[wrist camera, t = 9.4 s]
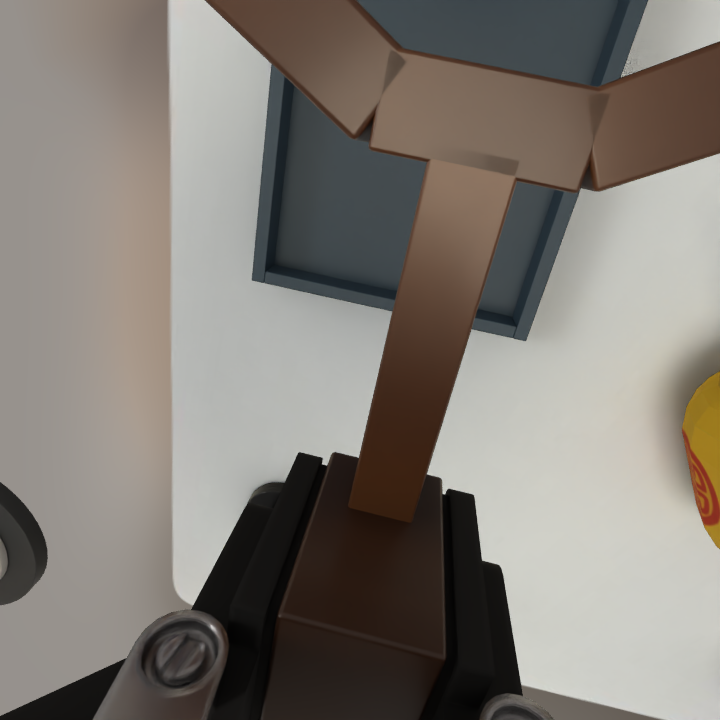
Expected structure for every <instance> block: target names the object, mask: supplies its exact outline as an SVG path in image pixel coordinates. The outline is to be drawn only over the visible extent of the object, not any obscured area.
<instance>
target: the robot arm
mask: <svg viewBox="0 0 720 720" xmlns="http://www.w3.org/2000/svg"><path fill="white" fill-rule="evenodd" d="M322 460H323V458H321V457H317V456H313V455H309V454H305V453H301V452H299V453H298V455H297V457H296V459H295V461H294V464H293V466H292V468H291V470H290V473H289V475H288V477H287V479H286V482H285V484H284V486H283V488H282V491H281V493H280V495H279V497H278V500H277V502H276V504H275V506H274V508H270V507H266V506H262V505H258V504H254V503H250V502H249V503H248V504H247V505H246V507H245V509H244V510H243V512H242V514H241V516H240V518H239V520H238V522H237V524H236V526H235V527H234V529H233V531H232V533H231V535H230V537H229V539H228V541H227V543H226V545H225V546H224V548H223V550H222V552H221V554H220V556H219V558H218V560H217V562H216V563H215V565H214V567H213V569H212V571H211V573H210V575H209V577H208V579H207V581H206V582H205V584H204V586H203V588H202V590H201V592H200V594H199V596H198V598H197V600H196V601H195V603H194V605H193V607H192V609H191V610H181V611H176V612H171V613H169V614H167V615H165V616H163V617H161V618H158V619H157V620H156V621H154V622H153V623H152V624H151V625H149V626H148V627H147V628H146V629H145V630H144V631H143V632H142V634H141V635H140V636H139V638H138V639H137V641H136V642H135V644H134V646H133V647H132V650H131V651H130V653H129V655H128V657H127V658H126V659H123V660H121V661H119V662H117V663H115V664H113V665H110V666H108V667H106V668H104V669H102V670H99V671H97V672H95V673H93V674H91V675H89V676H86V677H85V678H82V679H80V680H78V681H76V682H73V683H71V684H69V685H67V686H65V687H62V688H60V689H58V690H56V691H54V692H52V693H49V694H47V695H45V696H43V697H41V698H39V699H36V700H34V701H32V702H30V703H28V704H26V705H23V706H21V707H19V708H17V709H15V710H12V711H10V712H8V713H6V714H4V715H2V716H0V720H259V719H260V713H261V707H262V701H263V695H264V689H265V683H266V678H267V672H268V666H269V660H270V654H271V648H272V642H273V637H274V631H275V625H276V619H277V613H278V610H279V607H280V604H281V602H282V599H283V596H284V593H285V590H286V587H287V584H288V581H289V578H290V575H291V572H292V569H293V566H294V563H295V560H296V557H297V554H298V551H299V548H300V545H301V542H302V539H303V536H304V533H305V531H306V528H307V525H308V522H309V519H310V516H311V513H312V510H313V507H314V504H315V501H316V498H317V495H318V492H319V489H320V486H321V483H322V480H323V477H324V474H325V471H326V468H327V466H326V465H322ZM442 495H443V534H444V573H445V612H446V651H447V658H446V661H445V663H444V666H443V668H442V671H441V673H440V675H439V678H438V680H437V683H436V685H435V687H434V690H433V692H432V695H431V697H430V700H429V702H428V704H427V707H426V709H425V712H424V714H423V717H422V719H421V720H554V719H553V717H552V716H551V715H550V714H549V713H548V712H547V711H546V710H545V709H543V708H542V707H541V706H539V705H538V704H537V703H535V702H534V701H532V700H530V699H527V698H525V697H523V694H522V689H521V682H520V676H519V670H518V664H517V657H516V651H515V645H514V639H513V633H512V627H511V621H510V615H509V609H508V603H507V596H506V590H505V584H504V578H503V573H502V569H501V567H500V566H499V565H497V564H493V563H489V562H485V561H482V557H481V549H480V541H479V532H478V524H477V515H476V507H475V499H474V495H473V494H468V493H464V492H460V491H456V490H452V489H448V490H447V491H446V494H442ZM7 566H8V558H7V551H6V549H5V546H4V543H3V541H2V540H1V538H0V579H1V578H2V577H3V576H4V574H5V572H6V571H7Z"/></svg>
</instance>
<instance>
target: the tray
mask: <svg viewBox="0 0 720 720" xmlns="http://www.w3.org/2000/svg"><path fill="white" fill-rule="evenodd" d="M357 1H358V2H359V3H360V4H361V5H362V6H363V7H364V8H365V9H366V10H367V11H368V12H369V13H370V14H371V15H372V16H373V17H374V18H375V19H376V20H377V21H378V23H379V24H380V25H381V26H382V27H383V28H384V29H385V30H386V31H387V32H388V33H389V34H390V35H391V36H392V37H393V38H394V39H395V40H396V41H397V42H398V43H399V44H400V45H401V46H402V47H403V48H405V49H410V50H415V51H420V52H425V53H430V54H435V55H440V56H445V57H450V58H455V59H460V60H465V61H470V62H475V63H480V64H485V65H490V66H495V67H500V68H505V69H510V70H516V71H521V72H526V73H531V74H536V75H541V76H546V77H551V78H556V79H561V80H566V81H571V82H576V83H581V84H586V85H591V86H596V87H598V86H600V85H603V84H606V83H609V82H611V81H614V80H617V79H619V78H620V77H621V74H622V71H623V69H624V66H625V63H626V60H627V57H628V55H629V52H630V49H631V46H632V43H633V41H634V38H635V35H636V32H637V29H638V27H639V24H640V21H641V18H642V15H643V13H644V10H645V7H646V4H647V2H648V0H357ZM368 145H369V142H364V141H357V140H353V139H350V138H349V137H348V136H347V135H346V134H345V133H344V132H343V131H342V130H340V129H339V128H338V127H337V126H336V125H335V124H334V123H333V122H332V121H331V120H330V119H329V118H328V117H327V116H326V115H325V114H324V113H323V112H322V111H321V110H320V109H318V108H317V107H316V106H315V105H314V104H313V103H312V102H311V101H310V100H309V99H308V98H307V97H306V96H305V95H304V94H303V93H302V92H301V91H300V90H299V89H297V88H296V87H295V86H294V85H293V84H292V83H291V82H290V81H289V80H288V79H287V78H286V77H285V76H284V75H283V74H282V73H281V72H280V71H279V70H278V69H277V68H275V67H274V66H273V65H271V76H270V87H269V98H268V109H267V120H266V131H265V142H264V153H263V164H262V175H261V186H260V197H259V208H258V218H257V229H256V240H255V251H254V262H253V273H252V281H257V282H261V283H267V284H271V285H276V286H280V287H285V288H289V289H294V290H298V291H303V292H307V293H312V294H316V295H321V296H325V297H330V298H334V299H339V300H343V301H348V302H352V303H357V304H361V305H366V306H370V307H375V308H379V309H384V310H388V311H393V307H394V303H395V299H396V294H397V290H398V286H399V281H400V277H401V272H402V268H403V264H404V259H405V255H406V251H407V246H408V242H409V238H410V233H411V229H412V225H413V220H414V216H415V212H416V207H417V203H418V199H419V194H420V190H421V185H422V181H423V177H424V172H425V168H426V164H427V163H426V162H421V161H417V160H412V159H407V158H402V157H398V156H393V155H388V154H383V153H379V152H374V151H371V150H370V149H369V146H368ZM580 189H581V188H580ZM579 191H580V190H579ZM579 191H578V192H577V193H569V192H564V191H559V190H554V189H550V188H545V187H540V186H535V185H531V184H526V183H521V182H517V183H516V186H515V189H514V193H513V196H512V199H511V202H510V206H509V209H508V212H507V215H506V219H505V222H504V225H503V228H502V232H501V235H500V238H499V241H498V245H497V248H496V251H495V254H494V258H493V261H492V264H491V267H490V271H489V274H488V277H487V280H486V284H485V287H484V290H483V293H482V296H481V300H480V303H479V306H478V309H477V313H476V316H475V319H474V322H473V326H472V329H474V330H478V331H483V332H487V333H492V334H496V335H501V336H505V337H510V338H514V339H518V340H523V341H526V339H527V337H528V334H529V331H530V328H531V326H532V323H533V320H534V317H535V314H536V312H537V309H538V306H539V303H540V300H541V298H542V295H543V292H544V289H545V286H546V284H547V281H548V278H549V275H550V272H551V270H552V267H553V264H554V261H555V258H556V256H557V253H558V250H559V247H560V245H561V242H562V239H563V236H564V233H565V231H566V228H567V225H568V222H569V219H570V217H571V214H572V211H573V208H574V205H575V203H576V200H577V197H578V194H579Z"/></svg>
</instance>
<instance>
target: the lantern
mask: <svg viewBox="0 0 720 720" xmlns="http://www.w3.org/2000/svg"><path fill="white" fill-rule="evenodd" d="M682 433H683V438H684V443H685V448H686V453H687V459H688V464H689V469H690V474H691V479H692V485H693V490H694V495H695V500H696V504H697V507H698V510H699V513H700V516H701V519H702V522H703V525H704V527H705V529H706V531H707V532H708V534H709V535H710V537H711V539H712V540H713V542H714V543H715V545H716V546H717V547H718V548H719V549H720V371H719V372H718V373H716V374H714V375H712V376H711V377H709V378H708V379H707V380H706V381H705V382H704V383H703V384H702V385H701V386H700V387H699V388H697V389H696V391H695V393H694V395H693V396H692V398H691V400H690V402H689V404H688V405H687V407H686V412H685V417H684V422H683V426H682Z"/></svg>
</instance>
